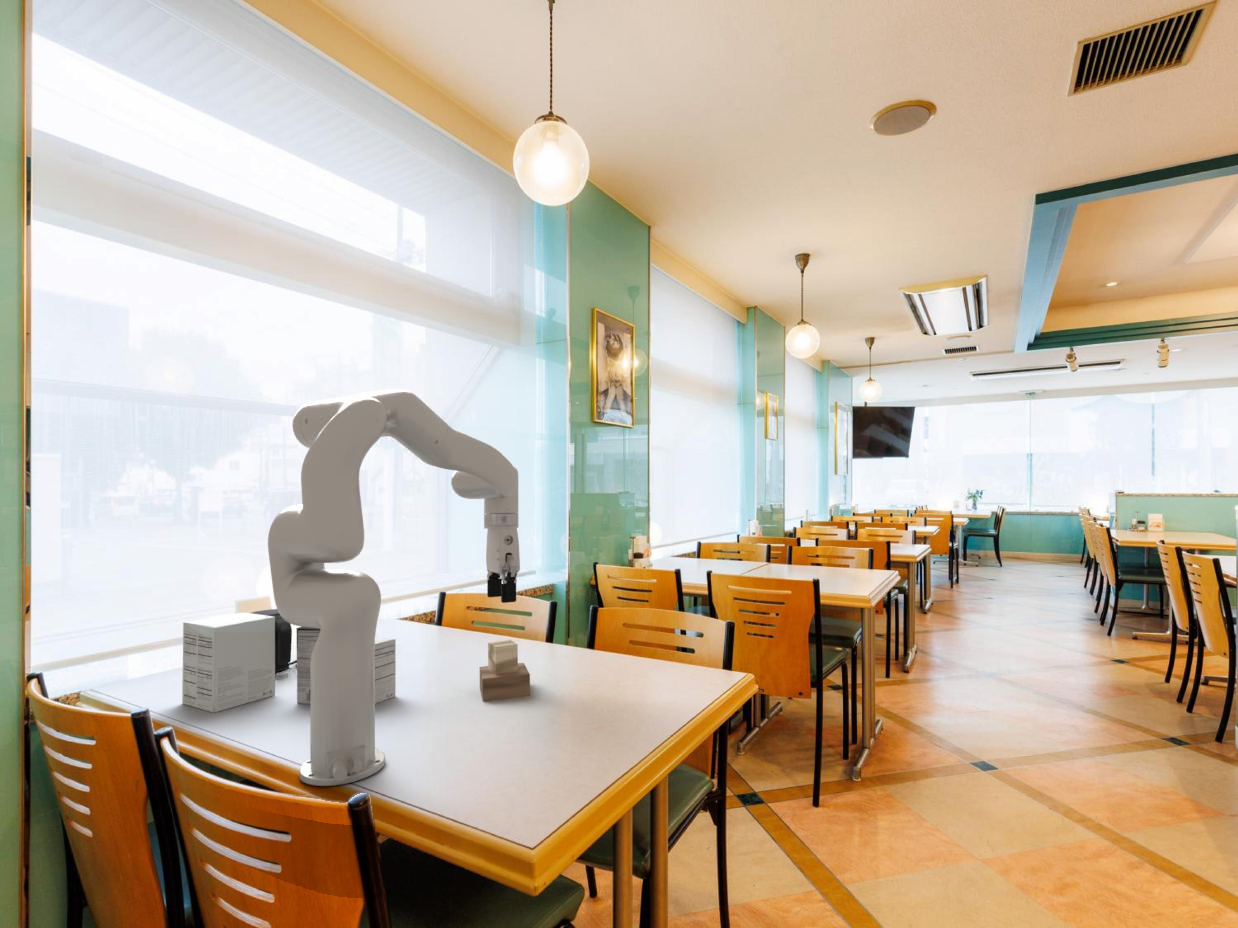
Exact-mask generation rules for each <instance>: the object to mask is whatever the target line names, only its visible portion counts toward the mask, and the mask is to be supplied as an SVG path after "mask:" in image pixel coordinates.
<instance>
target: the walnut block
mask: <svg viewBox="0 0 1238 928" xmlns="http://www.w3.org/2000/svg"><path fill="white" fill-rule="evenodd" d="M479 690H480V695H481V700H482V702H491V701H500V700H509V699H518V698H527V697H529V698H530V697H531V674H530V672H529V670H528V667H527V666H526V665H525V662H518V672H512V673H506V674H500V675H495V674H494V673H492V672H491V671H489V670H488V665H485V666H479Z"/></svg>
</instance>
